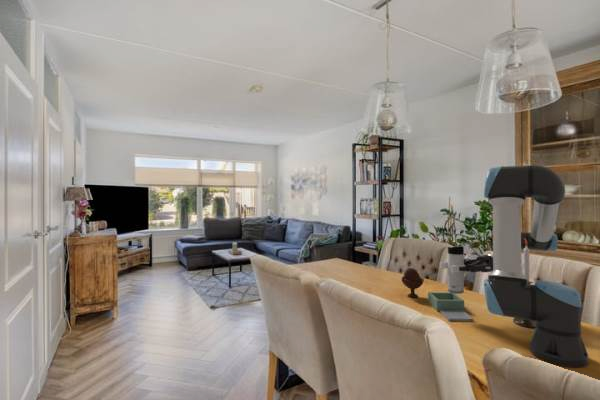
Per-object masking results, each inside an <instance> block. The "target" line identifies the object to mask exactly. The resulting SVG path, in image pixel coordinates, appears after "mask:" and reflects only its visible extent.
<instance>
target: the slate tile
mask: <svg viewBox="0 0 600 400" xmlns="http://www.w3.org/2000/svg"><path fill="white" fill-rule="evenodd" d="M439 312H440V314H441V315H442V316H443V317H444V318H445V319H446V320H447V321H448V322H474V318H473V317H472V316H471V315H470V314H468V313H467V312H466V311H465V310H464V311H463V310H440V311H439Z"/></svg>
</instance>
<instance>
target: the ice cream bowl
mask: <svg viewBox="0 0 600 400" xmlns="http://www.w3.org/2000/svg"><path fill="white" fill-rule="evenodd" d="M403 273H404V274H403V276H402V277H401V282H402V284H403V285H404V286H405V287H407V288H408V289H410V293H408V294H407V298H410V299H418V298H419V295H418V294H416V293H415V290H417V289H419V288H420V287H421V286H422V285H423V283H424V280H425V278H423V277H421V276H420V274H419V272H418V271H417V270H416V269H415V268H414V267H408V268H406V270H405V272H403Z"/></svg>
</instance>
